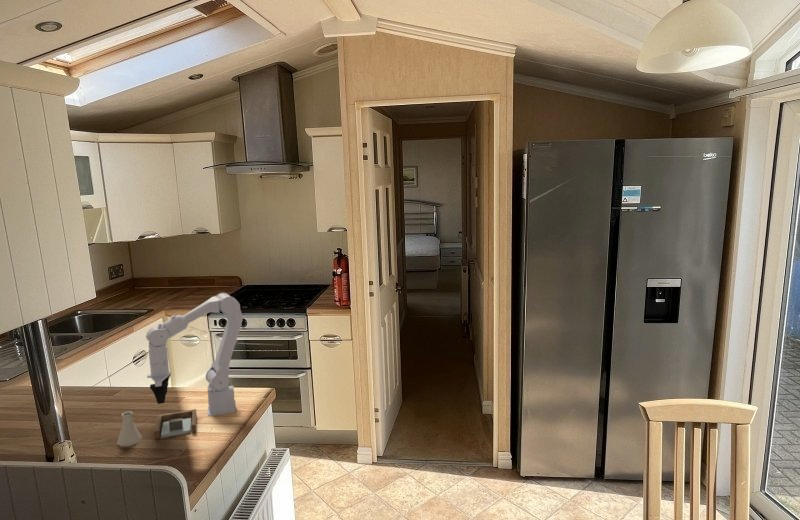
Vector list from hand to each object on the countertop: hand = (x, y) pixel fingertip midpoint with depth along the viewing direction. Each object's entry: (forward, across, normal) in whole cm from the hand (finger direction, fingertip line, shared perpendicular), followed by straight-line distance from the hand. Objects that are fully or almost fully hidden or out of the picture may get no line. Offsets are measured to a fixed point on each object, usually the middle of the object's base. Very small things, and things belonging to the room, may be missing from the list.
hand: (162, 398), depth 173 cm
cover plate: (+9, +6, +4) cm, 12 cm away
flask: (+10, +10, -10) cm, 17 cm away
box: (+10, +6, +4) cm, 12 cm away
